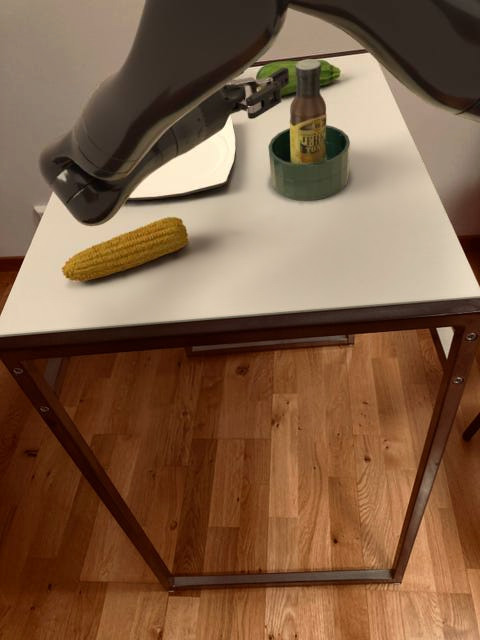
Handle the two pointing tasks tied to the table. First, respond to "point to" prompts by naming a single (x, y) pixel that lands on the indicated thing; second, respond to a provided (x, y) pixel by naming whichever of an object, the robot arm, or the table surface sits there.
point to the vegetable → (326, 74)
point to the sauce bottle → (308, 116)
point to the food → (127, 250)
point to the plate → (192, 169)
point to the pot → (310, 168)
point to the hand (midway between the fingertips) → (263, 69)
